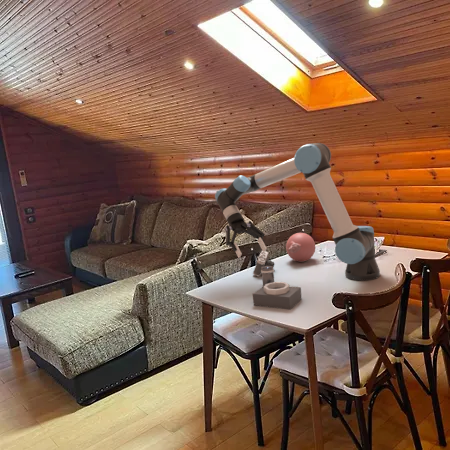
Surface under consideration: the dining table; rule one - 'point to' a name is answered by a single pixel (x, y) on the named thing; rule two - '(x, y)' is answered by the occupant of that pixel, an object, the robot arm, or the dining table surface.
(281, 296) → the grey block socket
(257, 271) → the camera
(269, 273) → the lens
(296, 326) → the dining table surface
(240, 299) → the dining table surface
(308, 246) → the pink star-marked ball
